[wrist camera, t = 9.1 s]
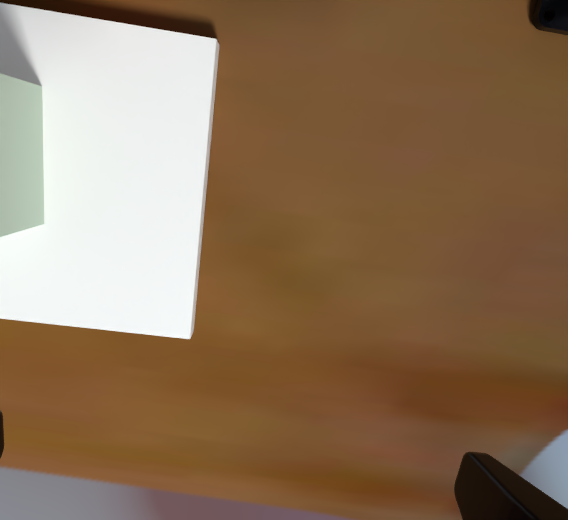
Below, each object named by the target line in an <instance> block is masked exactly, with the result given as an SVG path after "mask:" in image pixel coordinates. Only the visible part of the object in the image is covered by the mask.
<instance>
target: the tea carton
mask: <svg viewBox="0 0 568 520" xmlns="http://www.w3.org/2000/svg"><path fill="white" fill-rule="evenodd" d="M43 224H44V167H43V101H42V86H39V85H36V84H33V83H30V82H26V81H23V80H20V79H17V78H14V77H10V76H7V75H4V74H1V73H0V237H3V236H6V235H9V234H13V233H16V232H19V231H23V230H26V229H29V228H33V227H36V226H39V225H43Z"/></svg>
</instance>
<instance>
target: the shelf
mask: <svg viewBox="0 0 568 520" xmlns="http://www.w3.org/2000/svg"><path fill="white" fill-rule="evenodd" d="M218 55H219V43H218V41H217V39H214V38H208V37H202V36H196V35H190V34H184V33H178V32H172V31H166V30H160V29H154V28H148V27H142V26H137V25H131V24H125V23H119V22H113V21H107V20H101V19H95V18H89V17H83V16H77V15H71V14H65V13H59V12H53V11H47V10H41V9H35V8H29V7H23V6H17V5H11V4H5V3H0V73H1V74H4V75H7V76H10V77H14V78H17V79H20V80H23V81H26V82H30V83H33V84H36V85H39V86H42V101H43V167H44V224H43V225H39V226H36V227H33V228H29V229H26V230H23V231H19V232H16V233H13V234H9V235H6V236H3V237H0V318H1V319H11V320H20V321H29V322H38V323H47V324H56V325H65V326H75V327H84V328H93V329H102V330H111V331H120V332H129V333H138V334H148V335H157V336H166V337H175V338H184V339H190V338H191V336H192V333H193V331H194V321H195V310H196V299H197V288H198V277H199V266H200V254H201V243H202V232H203V221H204V210H205V199H206V188H207V177H208V166H209V155H210V144H211V133H212V122H213V110H214V99H215V88H216V77H217V66H218Z"/></svg>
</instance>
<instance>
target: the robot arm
mask: <svg viewBox="0 0 568 520" xmlns="http://www.w3.org/2000/svg"><path fill="white" fill-rule="evenodd" d="M545 12H547V13H548V15H549V19H548V21H546V20H545V18H544V13H545ZM532 21H533V25H534V26H535V28H536V29H539V30H542V31H548V32H553V33H559V34H564V35H568V0H537V3H536V6H535V10H534V14H533V20H532ZM3 449H4V431H3V415H2V412H1V410H0V458H1V456H2V453H3ZM454 491H455V497H456V501H457V504H458V507H459V510H460V513H461V516H462V519H463V520H568V509H567V508H565V507H564V506H562V505H561V504H559V503H558V502H557V501H555V500H554V499H552V498H551V497H549V496H548V495H546V494H545V493H544V492H542V491H541V490H539V489H538V488H536V487H535V486H533V485H532V484H531V483H529V482H528V481H526V480H525V479H523V478H522V477H520V476H519V475H518V474H516V473H515V472H513V471H512V470H510V469H509V468H507V467H506V466H505V465H503V464H502V463H500V462H499V461H497V460H496V459H494V458H493V457H492V456H490V455H488V454H486V453H478V452H467V453H465V455H464V456H463V458H462V462H461V465H460V468H459V471H458V475H457V478H456V481H455V487H454Z"/></svg>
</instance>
